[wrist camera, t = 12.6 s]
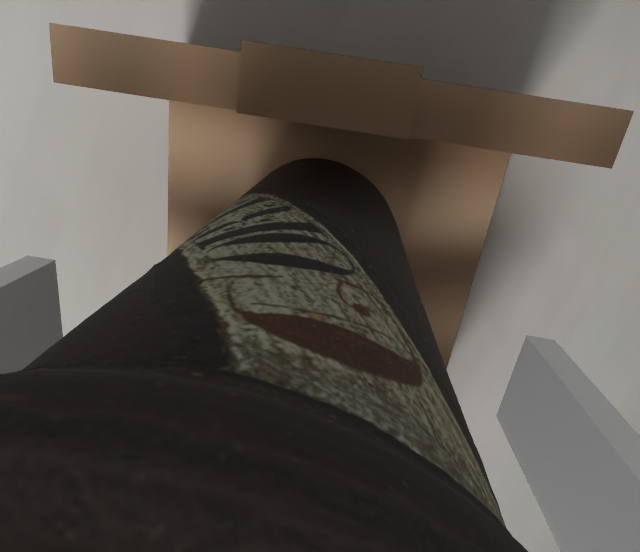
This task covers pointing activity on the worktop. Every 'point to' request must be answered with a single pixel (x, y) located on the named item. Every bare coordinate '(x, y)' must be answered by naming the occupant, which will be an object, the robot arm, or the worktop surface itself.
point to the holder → (342, 138)
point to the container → (252, 397)
